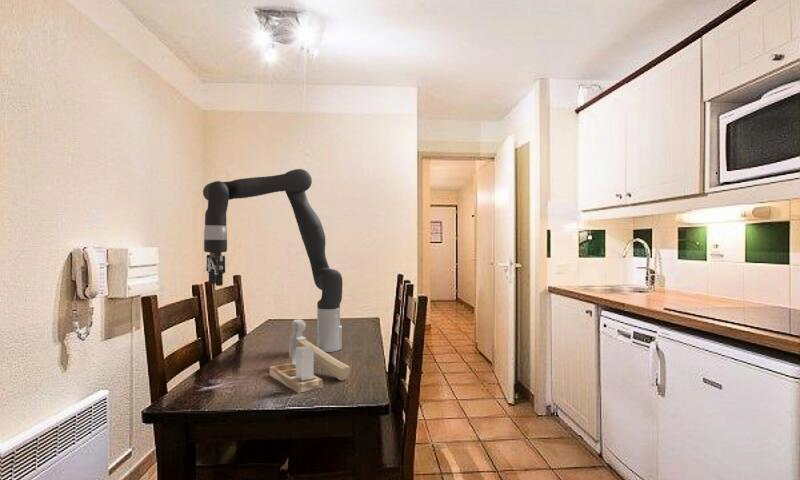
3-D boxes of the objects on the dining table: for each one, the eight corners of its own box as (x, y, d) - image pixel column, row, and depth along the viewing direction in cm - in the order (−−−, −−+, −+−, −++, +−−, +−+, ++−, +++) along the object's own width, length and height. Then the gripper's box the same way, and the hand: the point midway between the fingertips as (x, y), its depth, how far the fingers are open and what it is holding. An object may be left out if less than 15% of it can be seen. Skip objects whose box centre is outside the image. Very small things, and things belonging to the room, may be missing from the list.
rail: (292, 371, 155) (292, 363, 155) (322, 387, 138) (322, 378, 138) (269, 375, 150) (269, 366, 150) (298, 393, 133) (298, 383, 133)
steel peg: (307, 384, 141) (307, 345, 141) (313, 387, 138) (313, 348, 138) (295, 386, 139) (295, 347, 139) (301, 389, 135) (301, 349, 135)
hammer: (354, 350, 145) (301, 318, 165) (343, 352, 142) (290, 320, 162) (346, 395, 148) (295, 358, 168) (335, 398, 144) (284, 360, 164)
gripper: (233, 238, 155) (232, 285, 155) (220, 238, 167) (220, 282, 166) (210, 238, 151) (209, 287, 151) (199, 238, 162) (198, 283, 162)
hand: (215, 284), depth 159 cm, fingers open, 8 cm apart
